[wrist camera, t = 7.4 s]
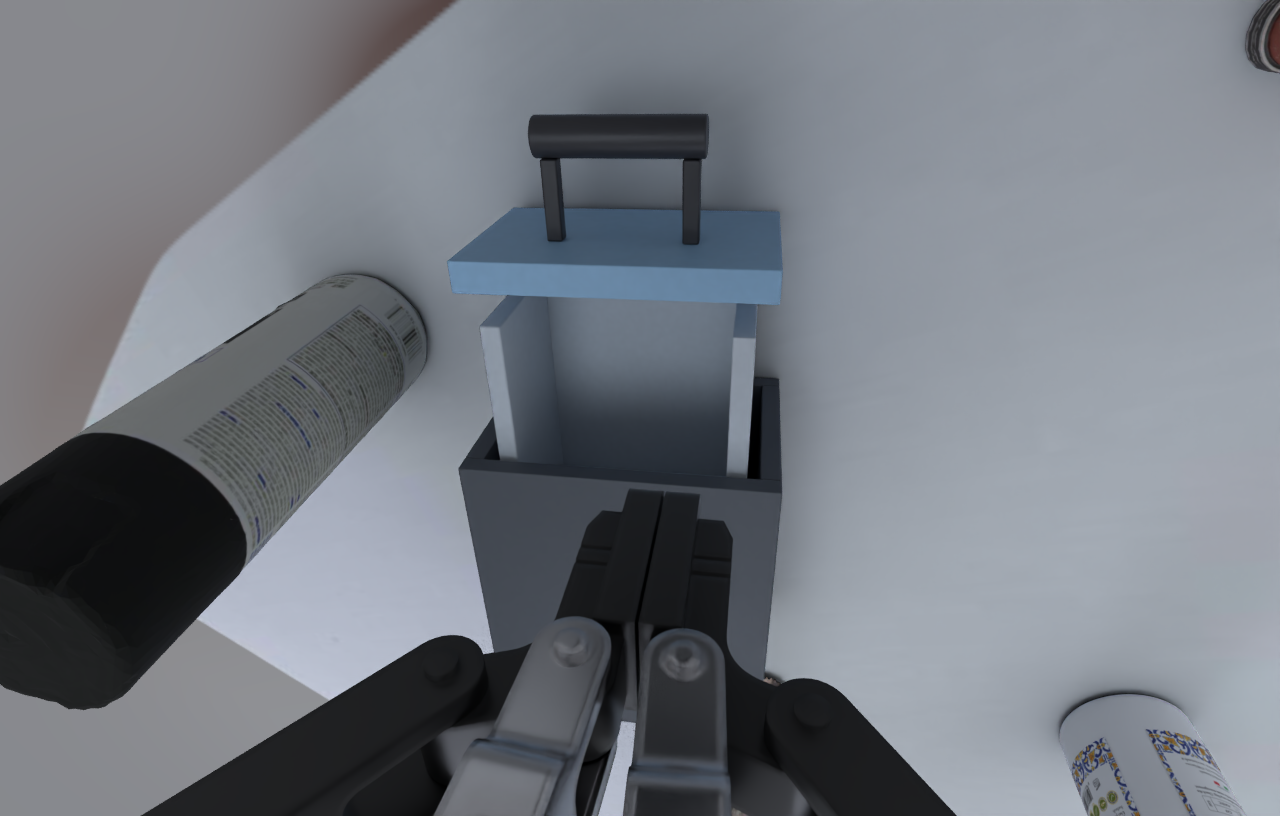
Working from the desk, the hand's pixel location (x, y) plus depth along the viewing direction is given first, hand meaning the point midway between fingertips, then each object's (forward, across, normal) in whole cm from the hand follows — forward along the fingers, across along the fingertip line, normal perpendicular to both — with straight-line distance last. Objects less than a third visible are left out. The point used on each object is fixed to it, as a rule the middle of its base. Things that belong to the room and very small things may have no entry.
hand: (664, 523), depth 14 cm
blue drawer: (+18, +3, +3) cm, 18 cm away
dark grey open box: (+19, +3, +14) cm, 23 cm away
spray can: (+19, +18, +5) cm, 26 cm away
